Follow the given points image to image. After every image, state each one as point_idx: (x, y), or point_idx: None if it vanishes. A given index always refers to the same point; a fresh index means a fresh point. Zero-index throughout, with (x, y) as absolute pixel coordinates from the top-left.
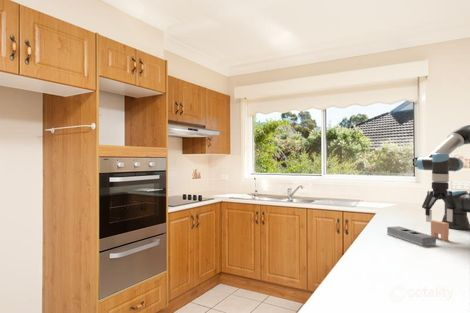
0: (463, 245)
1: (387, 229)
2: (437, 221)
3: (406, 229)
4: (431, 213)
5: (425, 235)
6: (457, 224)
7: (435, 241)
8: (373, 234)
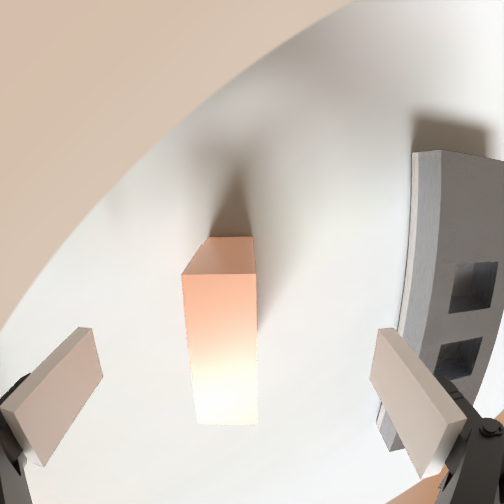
0: (208, 112)
1: None
2: (227, 382)
3: None
4: (426, 388)
5: (468, 210)
6: None
7: (427, 151)
8: (489, 401)
